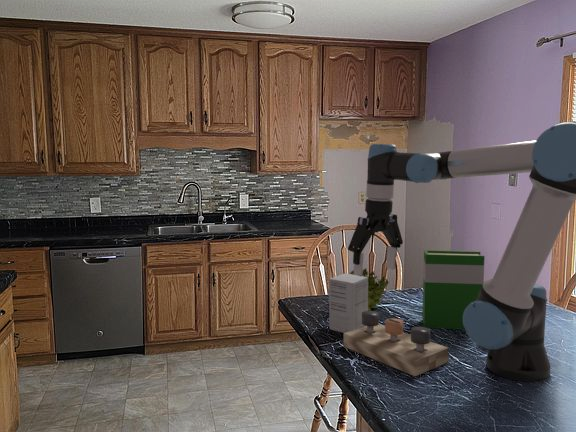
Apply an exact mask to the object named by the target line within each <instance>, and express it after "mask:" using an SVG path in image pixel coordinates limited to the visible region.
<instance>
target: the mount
mask: <svg viewBox="0 0 576 432" xmlns="http://www.w3.org/2000/svg"><path fill="white" fill-rule="evenodd" d="M343 347H345V348H346V349H349V350H352V351H353V352H355V353H359V354H361V355H363V356H366V357H367V358H371V359H372V360H375V361H377V362H380V363H382V364H385V365H387V366H390V367H392V368H395V369H397V370H399V371H401V372H403V373H406V374H409V375H411V376H413V377H417V376H419V375H421V374H424V373H426V372H428V371H431V370H433V369H435V368H438V367H440V366H442V365H445V364H447V363H449V352H450V350H449V347H447V346H444V345H442V344H439V343H436V342H433V341H430V343H428V344H424V352H422V353H420V352H417V351H416V343H413V342H412V341H411V333H410V334H409V333H406V332H404V331H403V333H402V334H400V335H398V342H396V343H393V342H390V334H388V333H386V332H385V325H384V324H381V323H379V325H377V326H374V333H372V334H369V333H367V326H365V327H362V328H359V329H356V330H352V331H349V332H346V333H343Z"/></svg>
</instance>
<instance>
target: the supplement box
mask: <svg viewBox="0 0 576 432" xmlns="http://www.w3.org/2000/svg"><path fill="white" fill-rule="evenodd" d="M368 277H369V276H368ZM368 277H364V276H361V277H360V276H357V275H352V274H349V273H347V272H346V273H341V274H340V275H337V276H334V277H331V278H329V280H328V284H329V285H328V291H329V293H328V295H329V296H328V297H329V299H328V300H329V301H328V302H329V303H328V305H329V306H328V308H329V309H328V310H329V311H328V313H329V314H328V315H329V321H328V322H329V324H328V325H329V330H331V331H334V332H335V331H336V332H339V333H343V334H344V333H346V332H349V331H352V330H356V329H359V328H362V327H365V325H363V324H362V312H364V311H368Z"/></svg>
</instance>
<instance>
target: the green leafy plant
mask: <svg viewBox="0 0 576 432" xmlns="http://www.w3.org/2000/svg"><path fill="white" fill-rule="evenodd" d="M348 274H352V275H354V269H353V270H351V271H350V272H349V273H348ZM362 276H364V277H368V311H372V309H375V308H378V304H381V300H382V299H383V298H384V296H383V294H385V289H386V288H387V286H388V285H389V281H388V279H387V278H386V279H385V275H383V276H382V279H380V278H378V275H376V274H375V271H374V270H372V271H370V273H369V271H368V270H367V267H366V268H363V274H362Z"/></svg>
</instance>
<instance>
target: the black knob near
mask: <svg viewBox="0 0 576 432" xmlns="http://www.w3.org/2000/svg"><path fill="white" fill-rule="evenodd" d="M410 335H411V341H412V342H413V343H416V351H417V352H420V353H422V352H424V344H428V343H430V342H431V328H425V327H424V326H414V327H412V328H410Z"/></svg>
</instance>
